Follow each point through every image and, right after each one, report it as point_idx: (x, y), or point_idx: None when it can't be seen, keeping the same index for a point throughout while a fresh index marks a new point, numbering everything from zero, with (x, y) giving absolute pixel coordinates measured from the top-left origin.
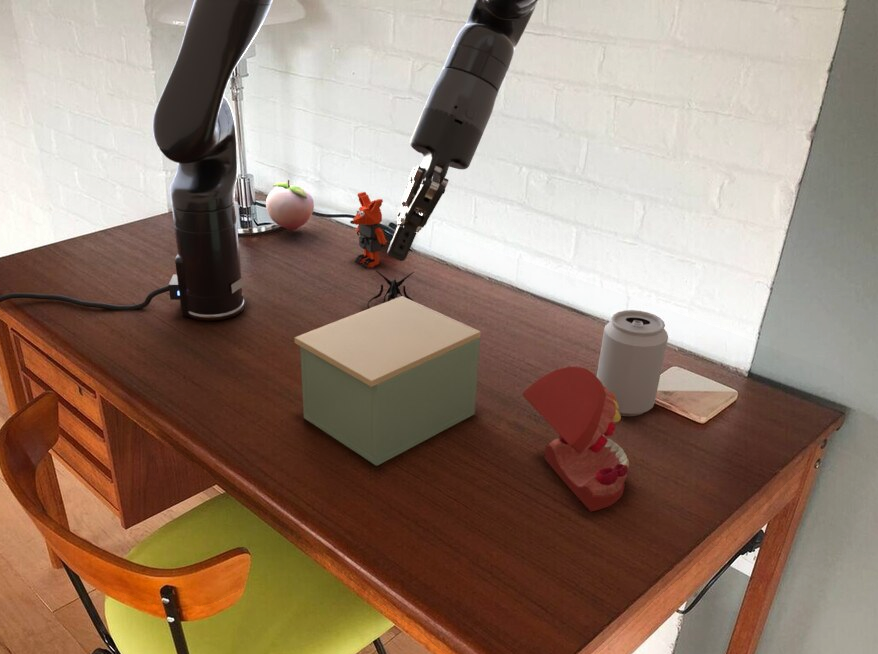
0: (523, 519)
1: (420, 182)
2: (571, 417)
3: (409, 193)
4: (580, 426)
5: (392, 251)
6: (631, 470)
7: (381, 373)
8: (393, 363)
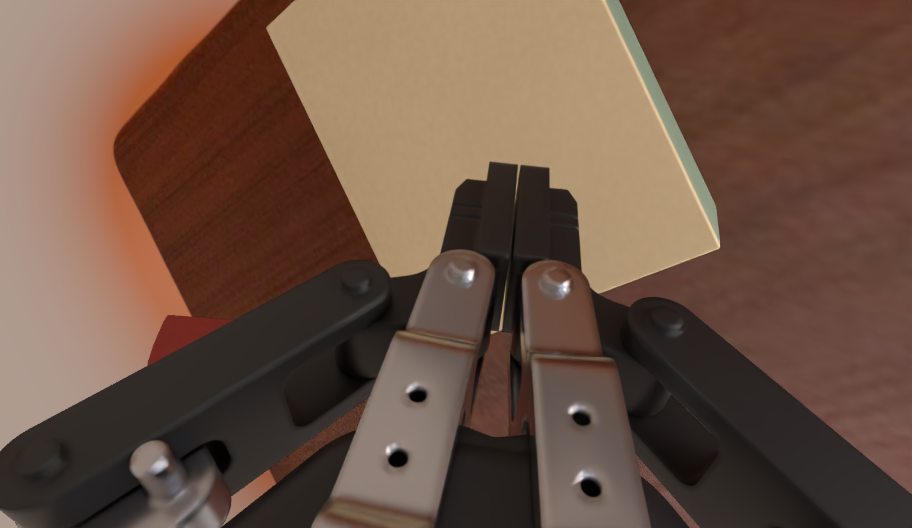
0: (274, 241)
1: (267, 515)
2: (178, 344)
3: (372, 391)
4: (160, 342)
5: (481, 180)
6: (336, 420)
7: (287, 57)
8: (321, 97)
